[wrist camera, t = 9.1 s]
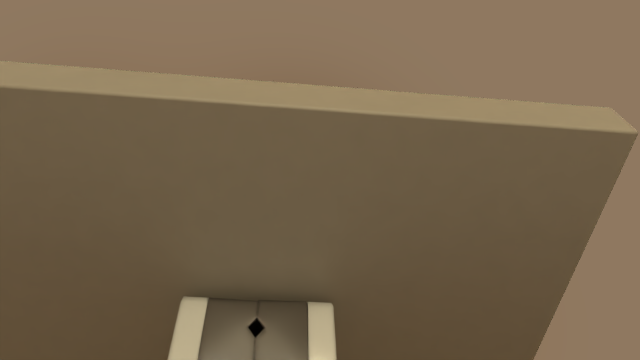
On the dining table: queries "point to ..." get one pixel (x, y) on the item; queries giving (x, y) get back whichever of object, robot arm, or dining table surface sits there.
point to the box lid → (289, 210)
